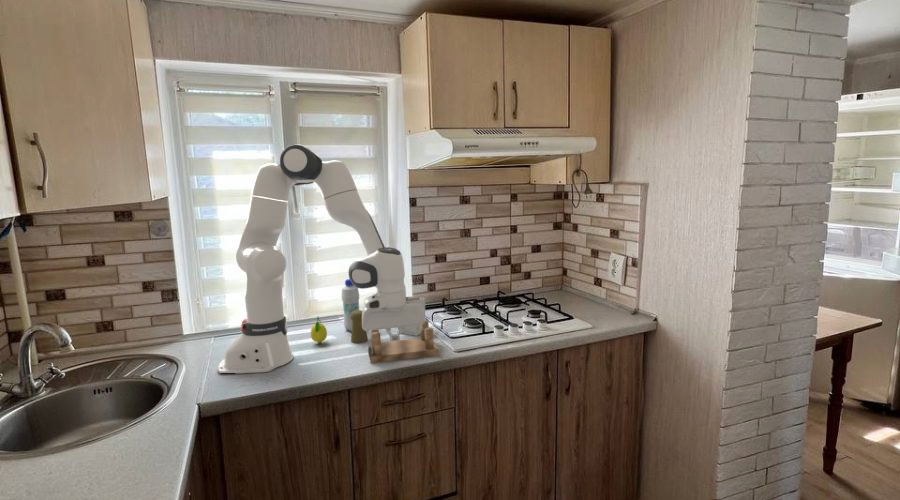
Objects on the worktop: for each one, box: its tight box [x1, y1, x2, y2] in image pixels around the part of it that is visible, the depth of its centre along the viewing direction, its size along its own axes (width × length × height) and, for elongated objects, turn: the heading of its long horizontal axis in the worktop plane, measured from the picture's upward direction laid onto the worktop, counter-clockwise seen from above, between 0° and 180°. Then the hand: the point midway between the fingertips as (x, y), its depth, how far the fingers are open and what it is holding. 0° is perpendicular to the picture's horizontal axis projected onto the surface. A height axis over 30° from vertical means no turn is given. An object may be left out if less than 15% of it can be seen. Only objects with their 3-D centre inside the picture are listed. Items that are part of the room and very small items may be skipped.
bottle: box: [341, 278, 360, 333], centre depth 181 cm, size 7×7×20 cm
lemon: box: [310, 315, 328, 344], centre depth 168 cm, size 7×6×10 cm
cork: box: [350, 309, 369, 345], centre depth 169 cm, size 6×6×11 cm
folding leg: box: [370, 331, 382, 355], centre depth 153 cm, size 8×3×6 cm, turn 12°
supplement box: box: [401, 297, 427, 337], centre depth 176 cm, size 7×7×13 cm
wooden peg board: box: [367, 319, 439, 364], centre depth 157 cm, size 22×12×8 cm, turn 103°
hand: (394, 340), depth 152 cm, fingers closed
